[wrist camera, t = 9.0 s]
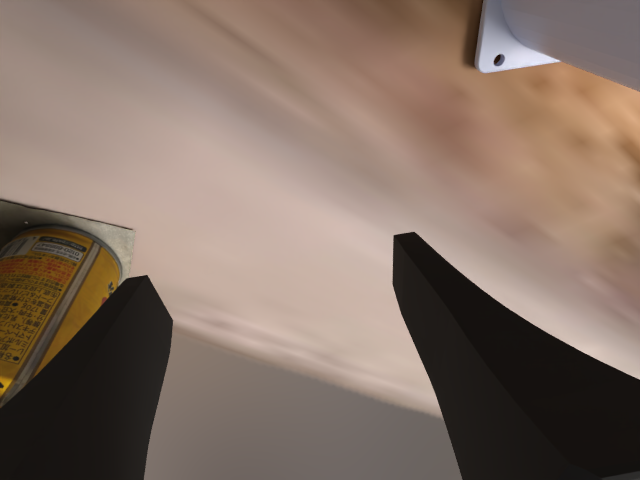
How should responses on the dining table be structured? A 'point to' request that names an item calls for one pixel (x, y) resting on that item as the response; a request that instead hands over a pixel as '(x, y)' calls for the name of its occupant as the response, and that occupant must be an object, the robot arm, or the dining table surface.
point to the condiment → (51, 285)
